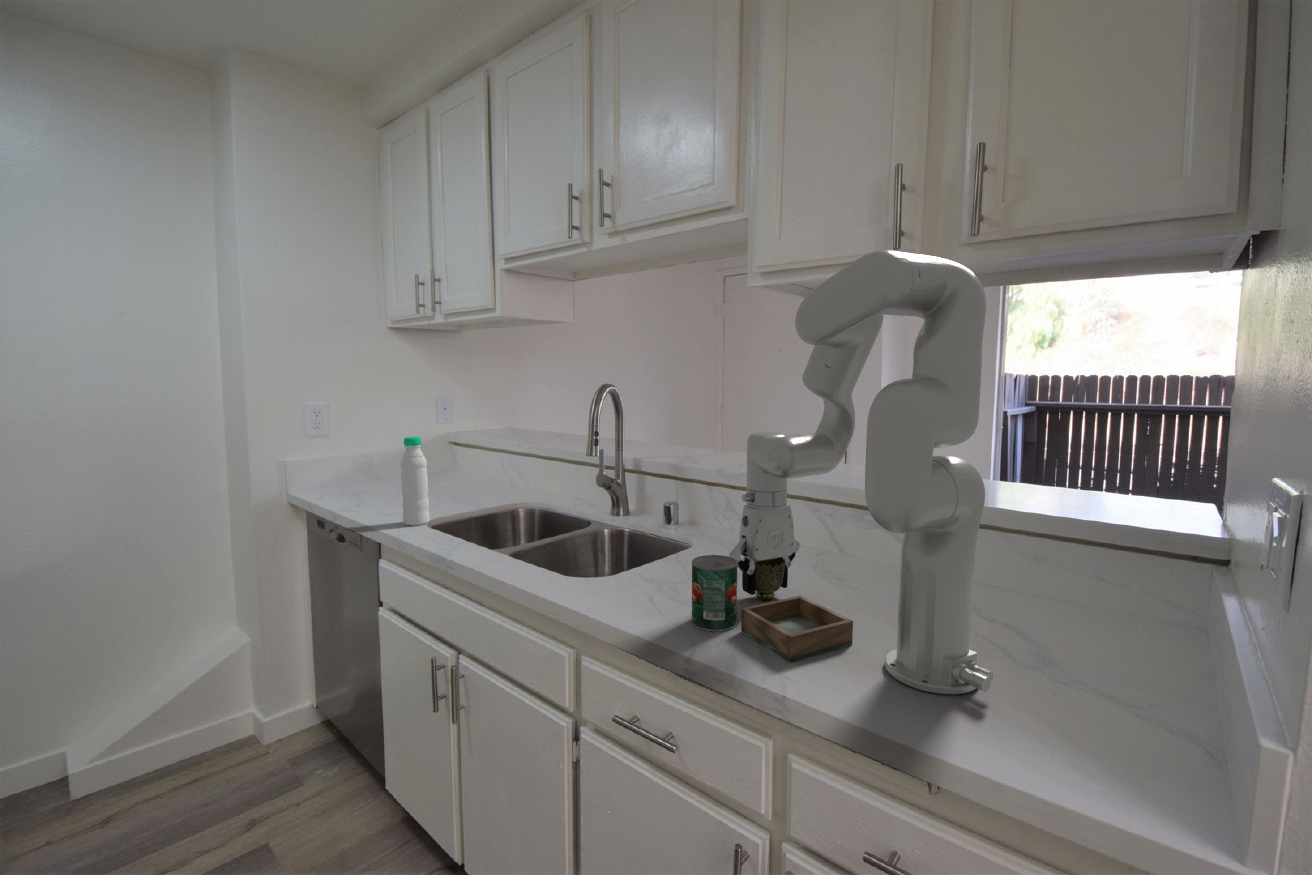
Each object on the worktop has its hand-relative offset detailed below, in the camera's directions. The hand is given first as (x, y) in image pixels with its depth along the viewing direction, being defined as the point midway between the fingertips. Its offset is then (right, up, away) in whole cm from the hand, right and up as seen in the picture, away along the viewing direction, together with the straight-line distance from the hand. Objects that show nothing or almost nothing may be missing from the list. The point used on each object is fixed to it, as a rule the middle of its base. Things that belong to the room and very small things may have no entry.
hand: (765, 588), depth 119 cm
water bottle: (-90, +4, +60) cm, 108 cm away
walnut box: (+2, -4, -17) cm, 18 cm away
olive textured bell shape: (0, -2, 0) cm, 2 cm away
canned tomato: (-11, -3, -11) cm, 16 cm away
